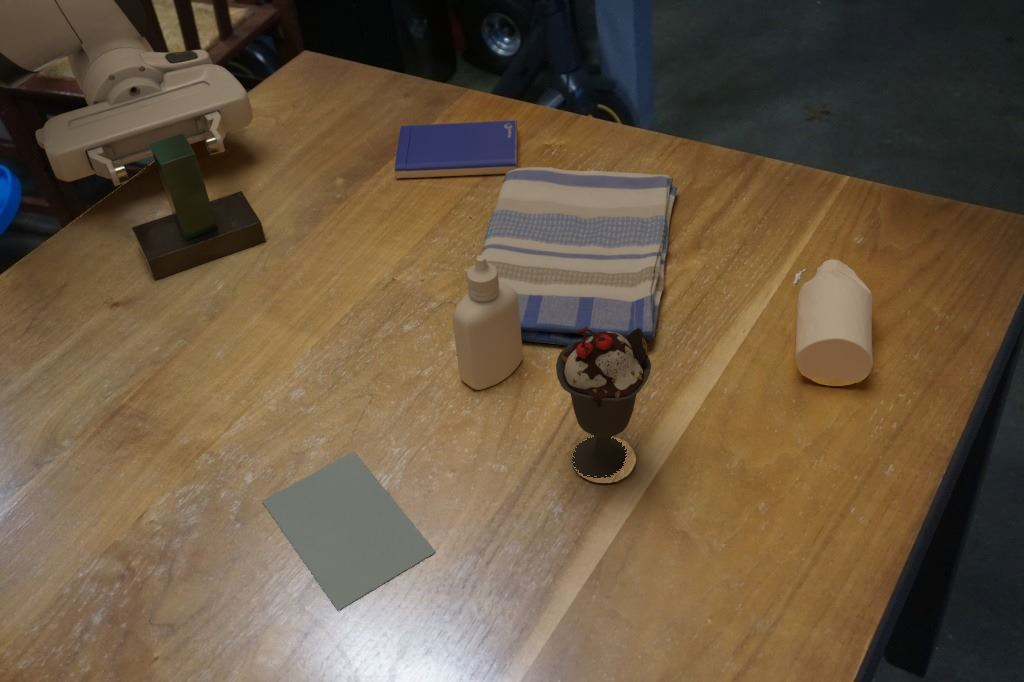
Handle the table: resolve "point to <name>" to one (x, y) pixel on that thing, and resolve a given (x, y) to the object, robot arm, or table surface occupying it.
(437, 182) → the table surface
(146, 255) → the green post on base
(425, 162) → the blue hardcover book
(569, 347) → the sundae
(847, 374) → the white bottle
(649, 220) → the dish towel
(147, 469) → the table surface
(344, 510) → the gray rectangular card
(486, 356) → the eye dropper bottle
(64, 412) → the table surface
